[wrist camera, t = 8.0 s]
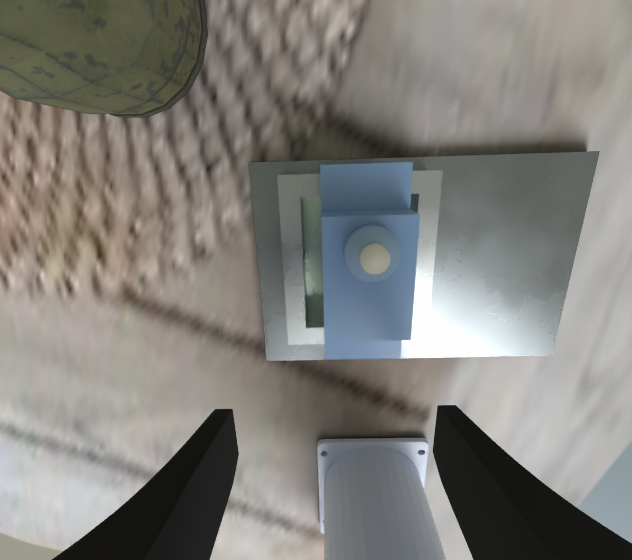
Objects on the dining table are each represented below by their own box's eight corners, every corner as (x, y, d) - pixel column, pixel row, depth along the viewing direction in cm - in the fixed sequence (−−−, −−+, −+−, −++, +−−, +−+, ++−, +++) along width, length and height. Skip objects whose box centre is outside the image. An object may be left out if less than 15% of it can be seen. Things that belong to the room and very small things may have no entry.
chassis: (543, 348, 22) (580, 379, 19) (268, 354, 22) (260, 385, 19) (587, 151, 18) (644, 149, 15) (251, 162, 18) (237, 162, 15)
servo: (383, 316, 20) (417, 398, 13) (323, 318, 20) (326, 399, 13) (389, 162, 17) (437, 161, 10) (320, 164, 17) (320, 165, 10)
